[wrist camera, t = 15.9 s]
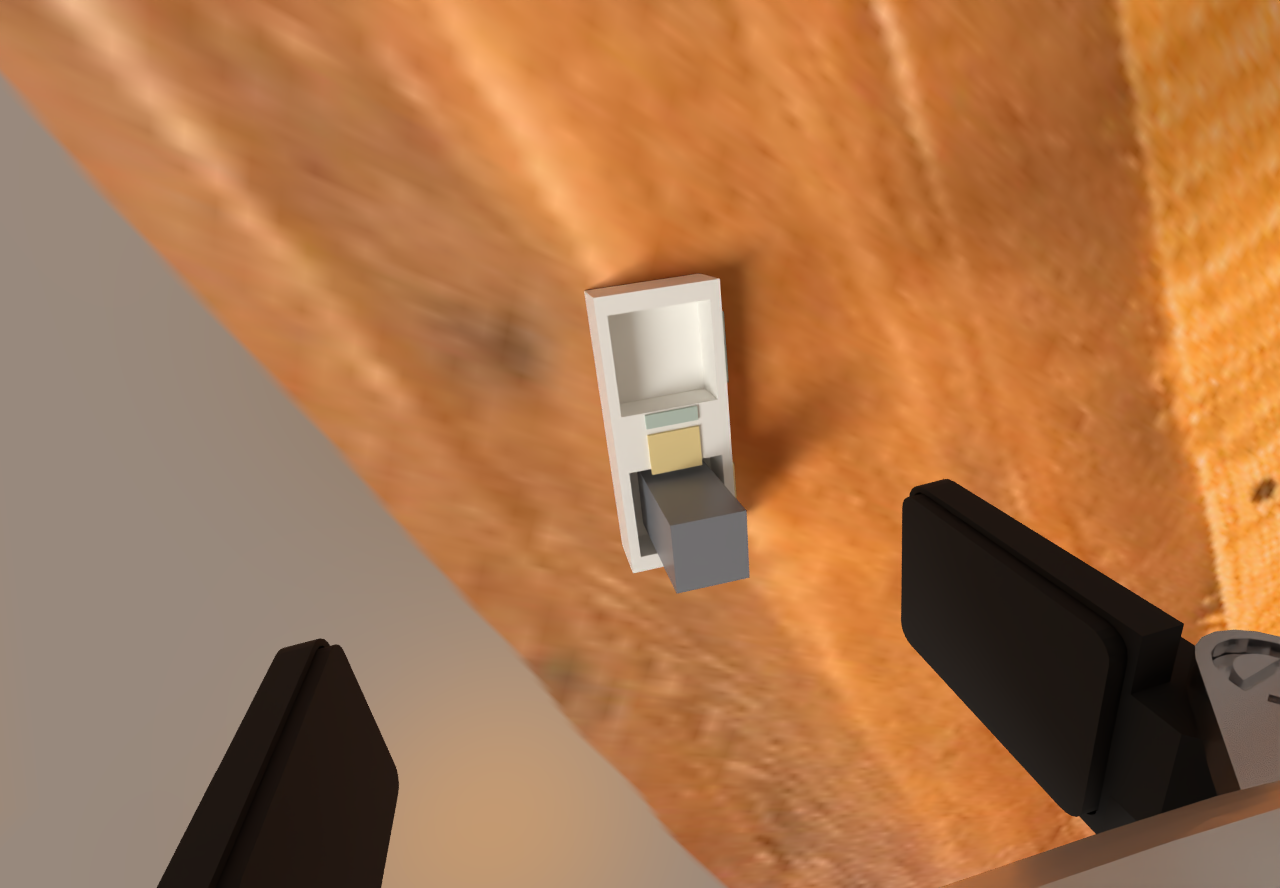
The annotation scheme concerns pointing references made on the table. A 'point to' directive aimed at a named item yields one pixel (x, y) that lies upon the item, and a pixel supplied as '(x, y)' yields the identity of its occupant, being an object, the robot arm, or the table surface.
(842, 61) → the table surface
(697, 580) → the plug
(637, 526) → the socket block
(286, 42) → the table surface
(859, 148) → the table surface
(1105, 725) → the robot arm
